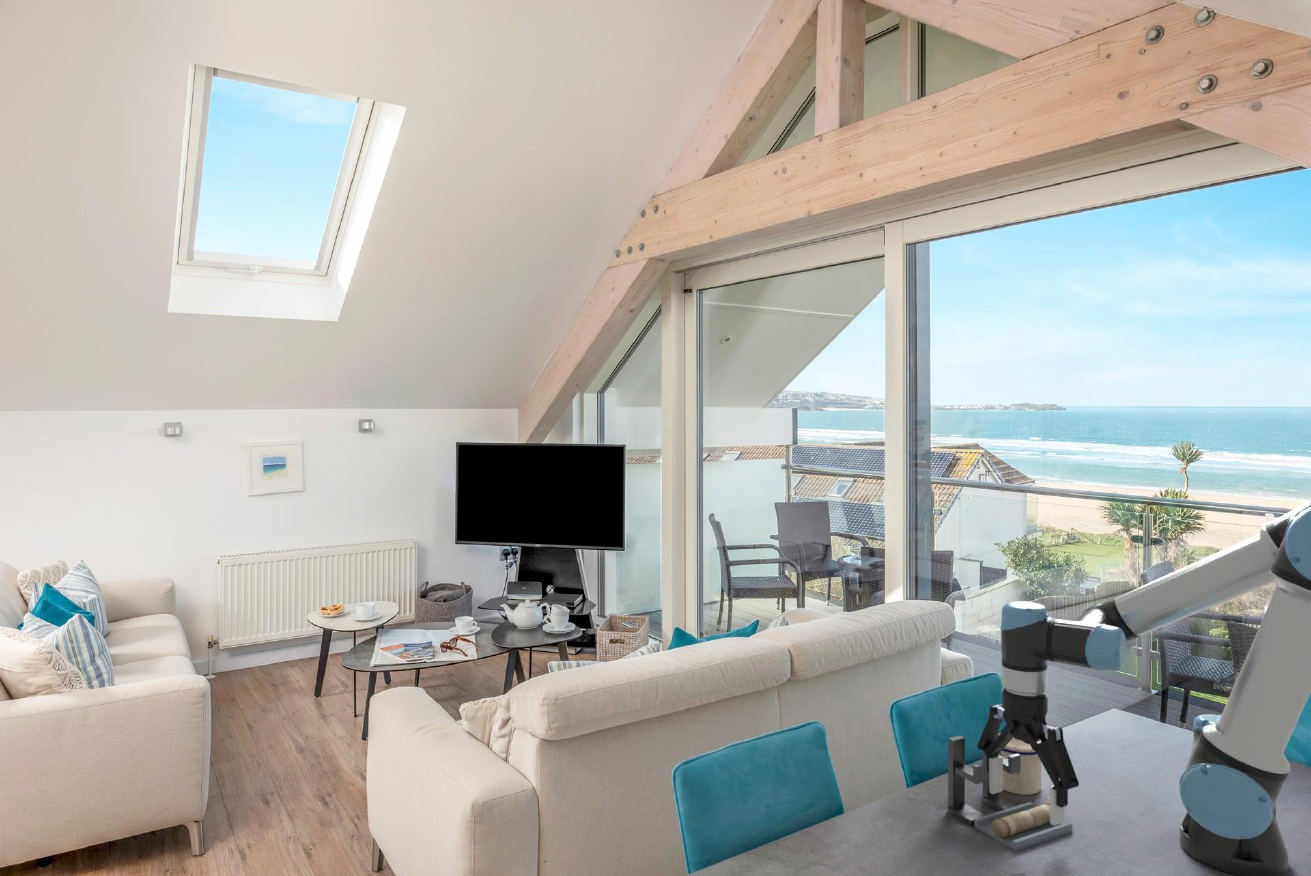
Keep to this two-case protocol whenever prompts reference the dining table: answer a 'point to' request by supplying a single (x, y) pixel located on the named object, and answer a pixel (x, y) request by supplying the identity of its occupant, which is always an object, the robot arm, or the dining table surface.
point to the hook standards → (974, 781)
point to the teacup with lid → (1022, 769)
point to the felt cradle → (1024, 837)
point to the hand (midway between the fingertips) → (1025, 806)
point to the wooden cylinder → (1021, 821)
